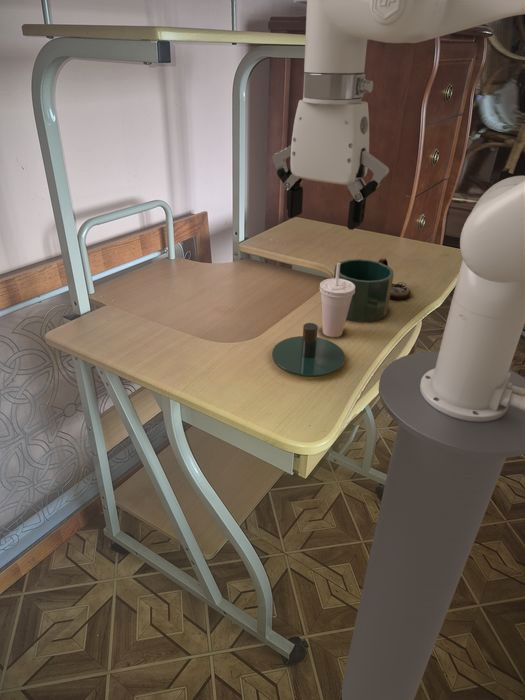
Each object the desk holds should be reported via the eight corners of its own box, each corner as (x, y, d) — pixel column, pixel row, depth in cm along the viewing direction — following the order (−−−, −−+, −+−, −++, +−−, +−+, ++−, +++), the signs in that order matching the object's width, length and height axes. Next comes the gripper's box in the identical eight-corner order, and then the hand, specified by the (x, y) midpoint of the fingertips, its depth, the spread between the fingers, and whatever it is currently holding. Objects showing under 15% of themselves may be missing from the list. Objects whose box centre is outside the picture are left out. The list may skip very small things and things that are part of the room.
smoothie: (309, 334, 93) (315, 263, 86) (325, 320, 98) (332, 252, 90) (340, 344, 90) (349, 272, 83) (355, 330, 95) (364, 260, 87)
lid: (356, 354, 87) (360, 321, 84) (323, 389, 79) (327, 354, 75) (294, 334, 93) (296, 302, 90) (258, 364, 84) (258, 330, 81)
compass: (405, 303, 105) (411, 270, 101) (369, 293, 109) (374, 262, 105) (416, 289, 111) (422, 258, 107) (382, 281, 114) (387, 251, 111)
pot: (395, 305, 104) (401, 267, 100) (373, 327, 96) (380, 287, 91) (345, 291, 109) (349, 255, 105) (321, 311, 101) (324, 272, 97)
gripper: (408, 90, 62) (389, 225, 71) (289, 84, 70) (285, 206, 79) (386, 94, 57) (368, 239, 66) (260, 88, 65) (259, 217, 74)
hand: (323, 221), depth 73 cm, fingers open, 9 cm apart
